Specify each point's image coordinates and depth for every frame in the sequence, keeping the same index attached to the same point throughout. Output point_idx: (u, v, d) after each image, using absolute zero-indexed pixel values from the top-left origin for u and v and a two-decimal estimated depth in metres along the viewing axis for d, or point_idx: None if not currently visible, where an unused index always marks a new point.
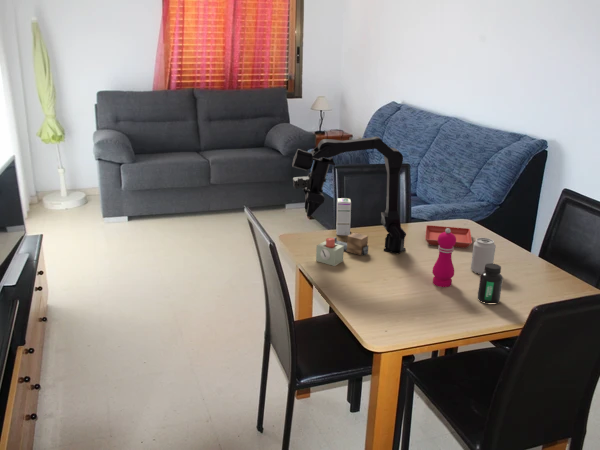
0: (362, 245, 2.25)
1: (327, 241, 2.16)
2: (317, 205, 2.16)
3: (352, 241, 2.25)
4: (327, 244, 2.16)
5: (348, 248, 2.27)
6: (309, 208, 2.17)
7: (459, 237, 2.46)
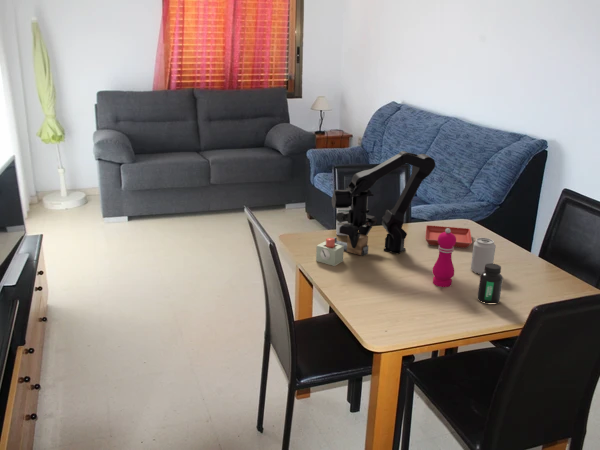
0: (362, 245, 2.25)
1: (327, 241, 2.16)
2: (356, 236, 2.22)
3: None
4: (327, 244, 2.16)
5: (348, 248, 2.27)
6: (351, 240, 2.24)
7: (459, 237, 2.46)
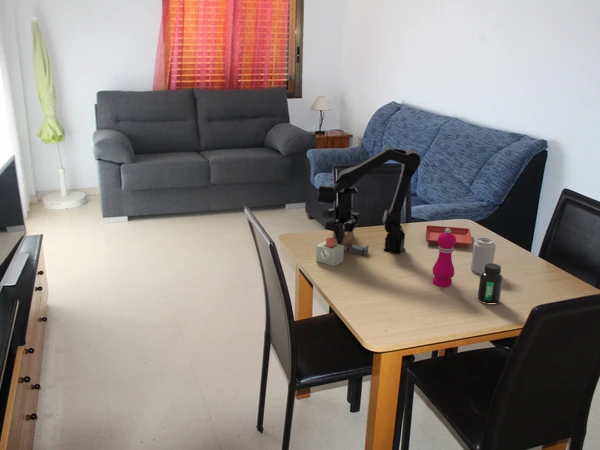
0: (347, 241, 2.28)
1: (327, 241, 2.16)
2: (341, 233, 2.25)
3: None
4: (327, 244, 2.16)
5: None
6: (336, 236, 2.27)
7: (459, 237, 2.46)
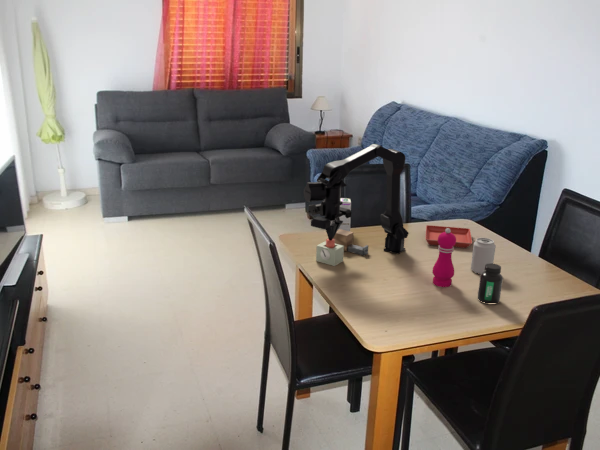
0: (347, 241, 2.28)
1: (327, 242, 2.16)
2: (332, 228, 2.13)
3: (338, 237, 2.29)
4: (327, 245, 2.16)
5: None
6: (327, 231, 2.15)
7: (459, 237, 2.46)
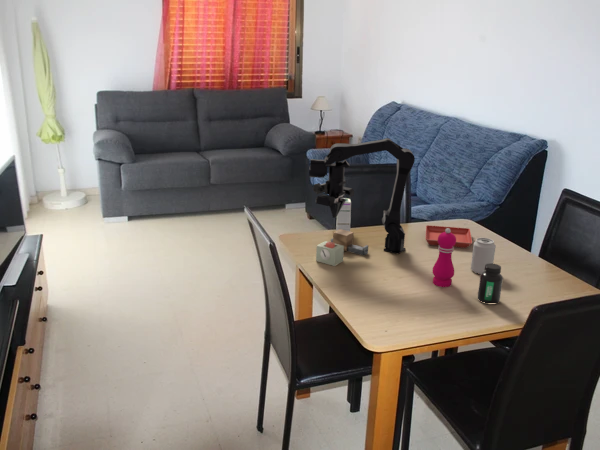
0: (347, 241, 2.28)
1: (327, 245, 2.17)
2: (336, 206, 2.24)
3: (338, 237, 2.29)
4: None
5: None
6: (331, 209, 2.26)
7: (459, 237, 2.46)
